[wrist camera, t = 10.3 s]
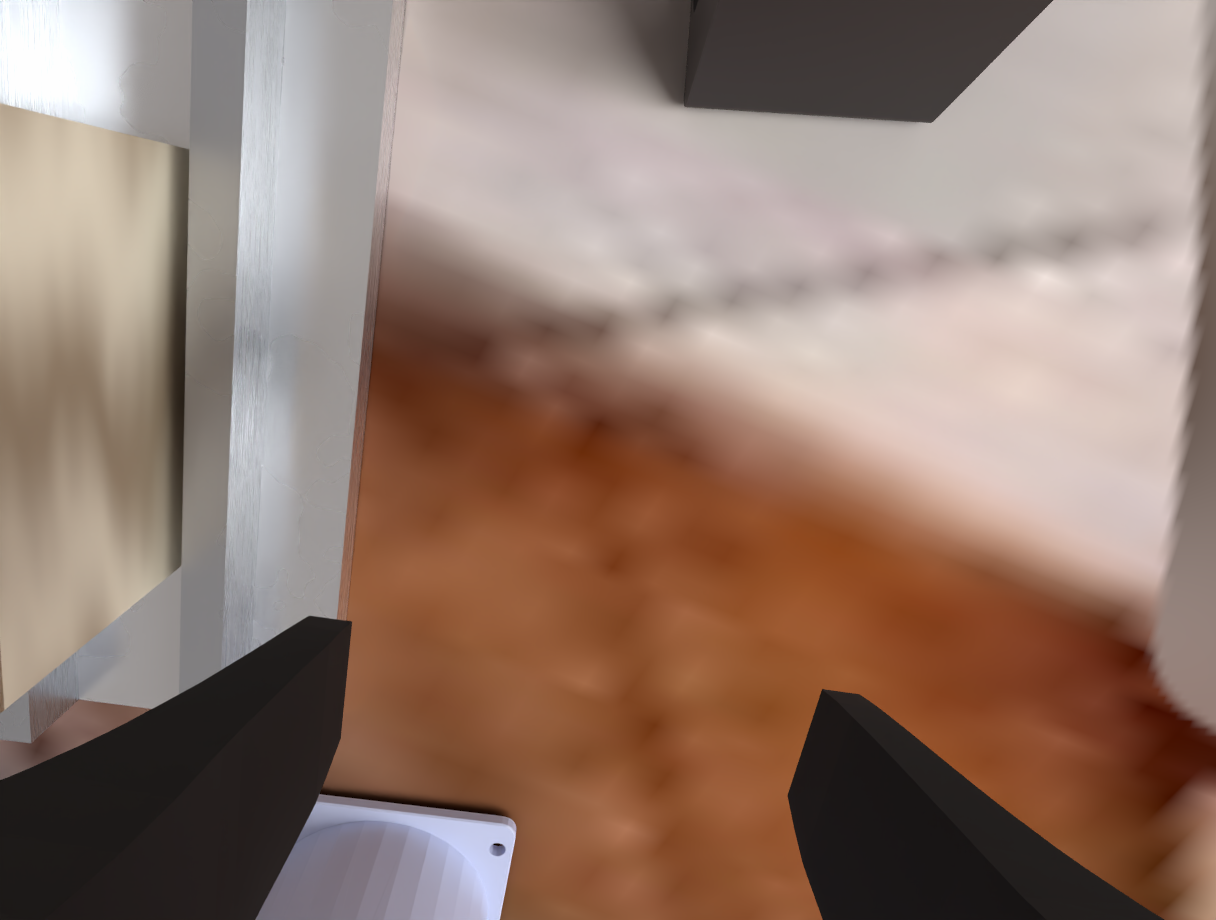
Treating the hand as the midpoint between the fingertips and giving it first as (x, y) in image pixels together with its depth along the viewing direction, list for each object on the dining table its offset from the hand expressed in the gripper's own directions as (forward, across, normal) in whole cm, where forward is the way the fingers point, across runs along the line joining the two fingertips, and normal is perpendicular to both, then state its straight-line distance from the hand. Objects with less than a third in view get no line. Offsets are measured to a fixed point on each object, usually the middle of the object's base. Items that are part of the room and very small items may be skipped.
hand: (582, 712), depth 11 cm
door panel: (+8, +11, -2) cm, 14 cm away
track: (+9, +11, -2) cm, 15 cm away
